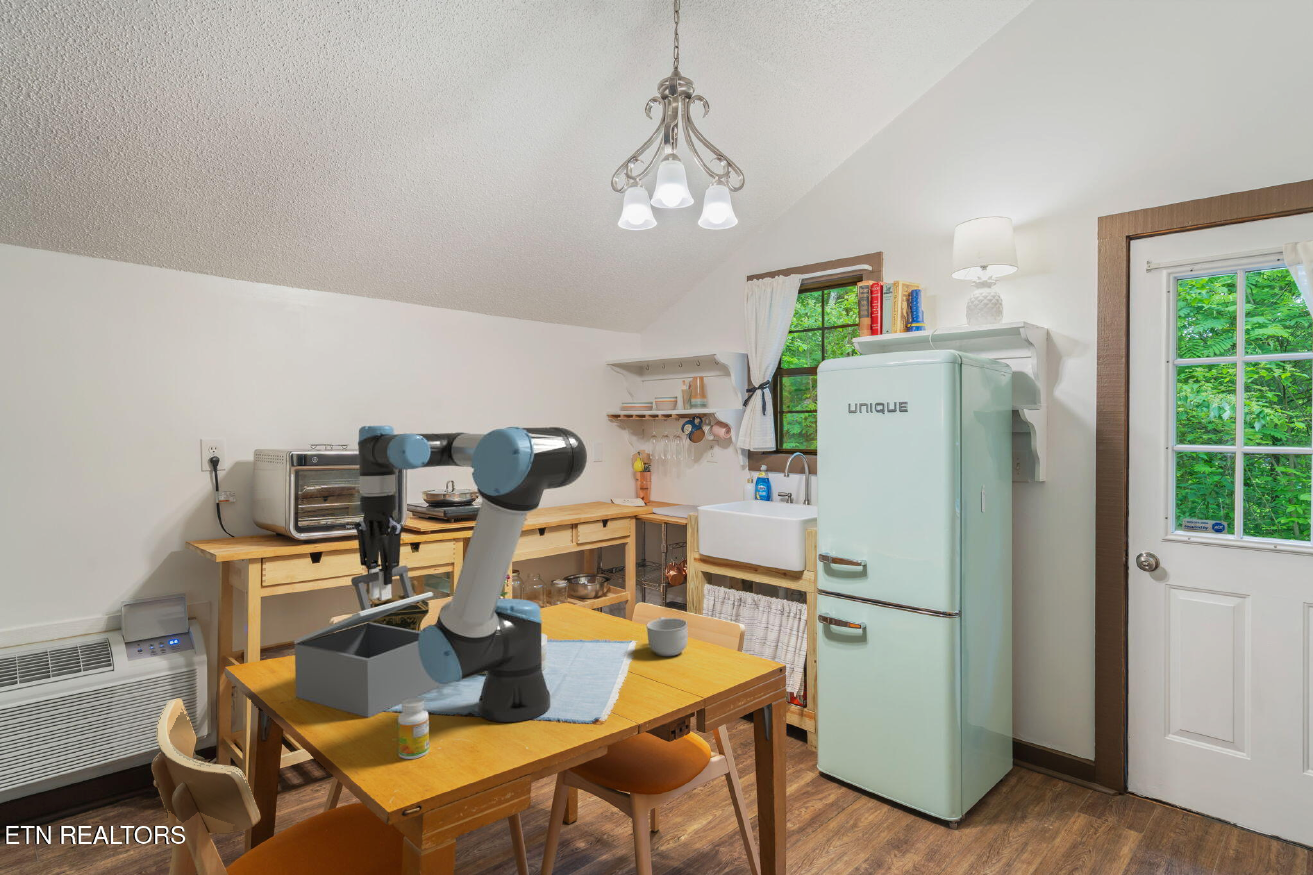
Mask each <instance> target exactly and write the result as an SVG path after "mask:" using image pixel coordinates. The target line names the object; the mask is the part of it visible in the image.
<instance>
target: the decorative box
mask: <svg viewBox="0 0 1313 875" xmlns="http://www.w3.org/2000/svg"><path fill="white" fill-rule="evenodd" d="M410 583H411V587H412V590H413V593H414V596H417V594H416V593H415V592H416V591H417V586H418V581H417V580H412V581H411V582H410ZM365 586H366V592H367V595H368V599H369V602H371V603H370V606H371V608H375V607H379V606H382V605H386V604H389V603H393V602H396V601H400V600H404V599H405V595H404V594H402V595H401V594H393V595H392V594H391V596H392V598H389V599H385V600H379V597H378V598H376V599H377V600H378V601H376V600H374V599H370V587H369V583H366V584H365ZM351 589H352V590H354V591H356V589H355V587H352V588H351ZM429 610H430V602H429V601H427V600H426V599H424V600H421V601H419V602H416V603H414V604H411V605H409V606H407V607H404V608H402V609H399V610H397V611H394V612H392V613H389V614H387V615H384V616H382V617H380V618H377V619H375V620H372V621H370V622H371V623H376V624H382V625H387V626H393V627H398V628H404V629H409V630H414V631H420V632H421V630H422V628H421V625H422V622H423V620H424V619H425V618H426V616H427V615H428V614H429Z"/></svg>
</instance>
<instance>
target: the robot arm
mask: <svg viewBox="0 0 1313 875" xmlns="http://www.w3.org/2000/svg"><path fill="white" fill-rule="evenodd" d="M357 447H358V449H357V450H358V467H359V475H358V476H359V477H358V478H359V481H358V482H359V485H358V486H359V493H360V494H361V496H360V497H359V510H360V512H361V513H363V517H362V520H361V521H360V522H359V521H358V522H356V523H354V528H355V531H356V533H357V542H358V553H359V561H360V566H362V567H363V566H364V567H365V568H366V569H367V574H369V573H374V572H378V571H379V581H375V582H371V583H369V587H370V594H369V596H370V599H373V600H374V599H377V598H378V597H379V600H385V599H389V598H392V584H393V577H392V570H393V568H396V567H400V561H401V543H402V542H401V540H402V534H403V533H402V532H403V529H404V524H402V523H397V522H396V521H395V517H394V511H396V509H397V496H396V495H395V494H394V493H395V492H396V469H400V470H403V471H404V470H405V471H406V470H407V471H408V470H415V469H416V470H417V469H421V468H432V467H433V468H435V467H461V468H464V467H466V468H471V469H473V471H472V472H471V476H472V479H473V482H474V484H475V486H476V488H477V490H476V491H477V494H478V496H479V497H480V499H481V504H480V507H479V510H478V512H477V513H478V514H477V517H476V519H475V523H474V527H473V530H472V533H471V536H470V539H469V541H468V542H469V543H468V546H467V550H466V553H465V556H464V560H463V563H462V565H461V569H460V572H459V575H458V577H457V578H458V579H457V582H456V585H455V589H454V592H453V594H452V598H451V600H450V601H447V602H445V603H444V604H443V605H442V606H441V608H440V610H439V613H438V616H437V620H436V622H435V623H434V624H428V625H427V626H424V627H423V628H421V632H420V634H419V638H418V651H419V656H420V659H421V662H422V665H423V667H424V669H425V671H426V672H427V674H428V675H429V676H430V678H431V679H432V680H434V681H435V682H437V683H439V684H440V685H448V684H451V683H455V682H457V683H458V682H461V681H462V680H465V679H469V678H470V677H473V676H476V675H479V674H482V673H486V675H485V678H484V682H483V684H482V687H481V688H482V689H481V692H480V695H479V698H478V704H477V706H478V714H479V716H481V717H482V718H483V719H485V720H488V721H493V722H498V723H499V722H501V723H516V722H523V721H527V720H532V719H534V718H537V717H540V716H542V715H543V714H545V713H547V711H549V709H550V707H551V693H550V692H549V689H548V686H547V682H546V678H545V676H544V673H543V669H542V668H543V667H542V664H543V663H542V659H543V658H542V624H543V621H542V614H541V613H542V612H541V607H540V606H539V604H538V603H536V602H534V601H532V600H528V599H527V600H526V599H521V598H520V599H519V598H500V597H501V595H502V591H503V588H504V584H505V582H506V579H507V576H508V573H509V570H510V567H511V563H512V562H513V558H514V554H515V552H516V549H517V545H518V543H519V540H520V536H521V533H522V531H523V528H524V525H525V522H526V519H527V516H528V513H532V512H533V511H535V510H537V509H538V508H539V506H540V502H541V499H542V498H543V495H544V491H545V490H549V489H550V490H551V489H559V488H564V487H566V486H569V485H571V484H573V483H574V482H576V481H577V480H578V479H579V478H580V477H581V476H582V474H583V473H584V471H585V468H586V467H587V466H586V465H587V462H588V453H587V448H586V446H585V444H584V441H583V440H582V439H581V437H580V436H579V435H578V434H576V433H575V432H574V431H572V430H570V429H568V428H564V427H558V426H557V427H556V426H554V427H553V426H549V427H546V426H545V427H519V426H508V427H505V428H498V429H497V428H496V429H494V430H491V431H489V432H487V433H470V432H469V433H468V432H447V433H446V432H445V433H441V432H440V433H412V432H411V433H406V432H405V433H396V434H395V430H394V427H393V426H392V425H363V426H361V427H360V428H359V430H358V441H357ZM379 561H380V563H379ZM379 600H378V601H379Z"/></svg>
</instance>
